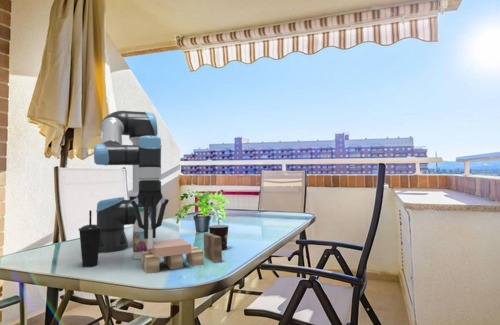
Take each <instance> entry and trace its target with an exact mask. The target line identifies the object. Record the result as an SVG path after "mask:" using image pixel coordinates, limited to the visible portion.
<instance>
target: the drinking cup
mask: <svg viewBox="0 0 500 325" xmlns="http://www.w3.org/2000/svg"><path fill="white" fill-rule="evenodd" d="M88 211H89V213H88V215H89V219H88V223H89V224H85V225H83V226H81V227H79V228H78V231H79V240H80V252H81V253H80V254H81V263H82V267H83V268H92V267H96V266H98V264H99V254H100V252H99V244H100V234H101V229H102V227H100V226H98V225H97V224H93V223H92V210H88Z"/></svg>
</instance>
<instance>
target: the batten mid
mask: <svg viewBox="0 0 500 325" xmlns="http://www.w3.org/2000/svg"><path fill="white" fill-rule="evenodd" d="M183 256H184V254H180V255H172V256H164V257H163V264H164V265H166V266H167V267H168V268H169V269H170V270H177V269H183V268H184V263H183V262H184V261H183V260H184V257H183Z"/></svg>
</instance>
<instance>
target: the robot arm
mask: <svg viewBox="0 0 500 325" xmlns="http://www.w3.org/2000/svg"><path fill="white" fill-rule="evenodd" d="M100 130H101V133H102V134H101V136H102V137H101V144H94V146H93V148H94V149H93V161H94V164H95V165H97V166H99V165H100V166H132V192H131V194H129V196H128V199H125V197H124V196H120V197H113V198H107V199H102V200H101V199H100V200H99V201H98V202H97V203H96V225H98V226H100V227H102V229H101V234H100V244H99V254H100V253H114V252H121V251H124V250H127V249H128V248H129V241H128V238H127V235H126V232H125V226H128V225H134V224H135V222H136V219H137V223H138V227H140V228H142V229H144V238H145V239H147V248H148V249H152V245H153V241H154V239H156V236H157V235H156V234H157V233H156V232H157V228H160V227H162V223H163V220H164V214H165V210H166V207H167V205H168V203H169V198H165V197H164V196H163V193H162V181H161V179H162V139H161V137H159V136H158V135H159V134H158V122H157V117H156V115H155V114H154V113H153V112H146V111H130V110H116V111H113V112H111V113H109V114H108V115H106V116H105V117H104V118H102V120H101V123H100ZM123 136H128V139H129V141H130V142H132V143H131V144H123ZM159 203H161V205H160V208H159ZM138 207H144V225H143V224H142V220H141V216H140V212H139V208H138ZM158 209H159V212H158ZM148 215H149V218H150V220H151V229H148ZM157 215H158V216H157Z"/></svg>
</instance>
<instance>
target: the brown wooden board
mask: <svg viewBox="0 0 500 325" xmlns="http://www.w3.org/2000/svg"><path fill="white" fill-rule="evenodd" d="M222 254H223V250H222V241H221V237H220V236H217V235H214V234H211V233H210V232H208V233H207V232H206V233H203V258H206V259H208V260H209V261H212V262H213V263H215V264H218V263H222V261H223V255H222Z"/></svg>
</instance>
